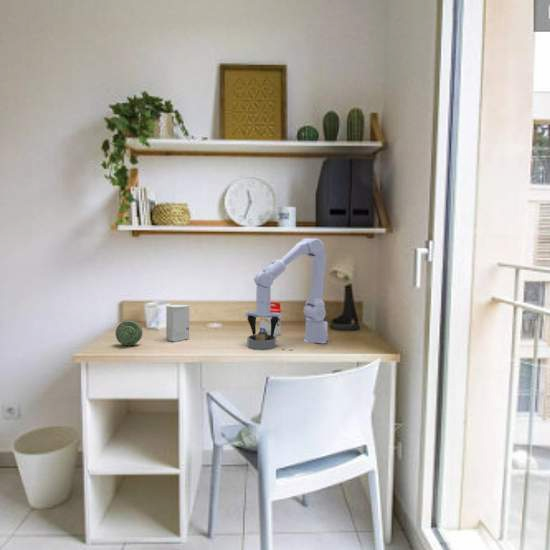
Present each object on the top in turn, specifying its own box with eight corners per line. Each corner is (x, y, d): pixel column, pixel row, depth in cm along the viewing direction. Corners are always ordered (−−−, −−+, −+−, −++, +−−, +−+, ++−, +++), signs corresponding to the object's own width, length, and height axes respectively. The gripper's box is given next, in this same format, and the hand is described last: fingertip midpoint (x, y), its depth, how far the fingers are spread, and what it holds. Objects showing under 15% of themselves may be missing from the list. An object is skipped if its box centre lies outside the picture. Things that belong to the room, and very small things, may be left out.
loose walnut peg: (268, 343, 170) (268, 331, 170) (266, 346, 167) (266, 333, 166) (259, 343, 171) (259, 331, 171) (257, 345, 168) (257, 333, 167)
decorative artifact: (142, 344, 169) (142, 320, 168) (137, 348, 162) (137, 323, 161) (117, 344, 169) (117, 320, 168) (111, 348, 162) (111, 323, 161)
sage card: (296, 350, 163) (296, 348, 163) (294, 353, 158) (294, 352, 158) (279, 348, 165) (279, 347, 165) (276, 352, 160) (276, 350, 160)
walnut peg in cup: (265, 346, 166) (265, 334, 165) (263, 348, 162) (263, 336, 162) (257, 345, 167) (257, 333, 166) (254, 348, 163) (254, 335, 163)
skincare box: (172, 342, 173) (172, 307, 172) (165, 339, 177) (165, 305, 176) (190, 339, 179) (189, 305, 177) (182, 336, 183) (182, 303, 182)
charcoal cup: (278, 344, 171) (278, 335, 171) (272, 351, 160) (272, 341, 160) (252, 342, 173) (252, 333, 173) (244, 349, 162) (244, 339, 162)
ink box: (259, 334, 189) (259, 302, 188) (264, 332, 194) (264, 301, 192) (275, 336, 185) (276, 304, 184) (280, 334, 190) (281, 302, 188)
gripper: (243, 302, 165) (243, 335, 166) (278, 304, 162) (278, 338, 163) (248, 299, 172) (248, 332, 173) (282, 301, 169) (282, 334, 170)
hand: (263, 334), depth 168 cm, fingers open, 7 cm apart
